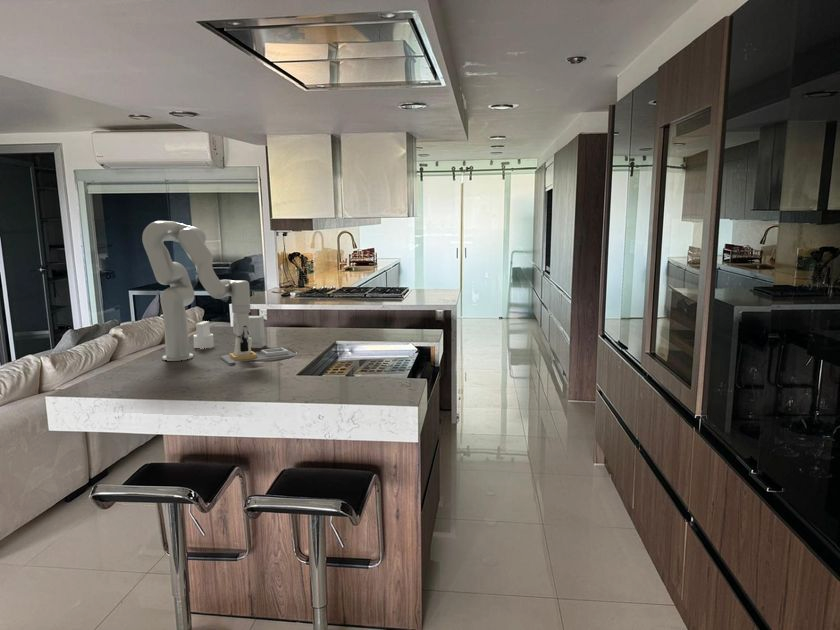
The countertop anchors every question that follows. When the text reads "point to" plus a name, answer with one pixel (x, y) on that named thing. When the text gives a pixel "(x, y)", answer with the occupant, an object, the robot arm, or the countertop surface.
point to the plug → (237, 347)
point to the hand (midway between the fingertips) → (242, 349)
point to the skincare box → (257, 331)
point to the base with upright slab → (203, 336)
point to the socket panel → (257, 355)
